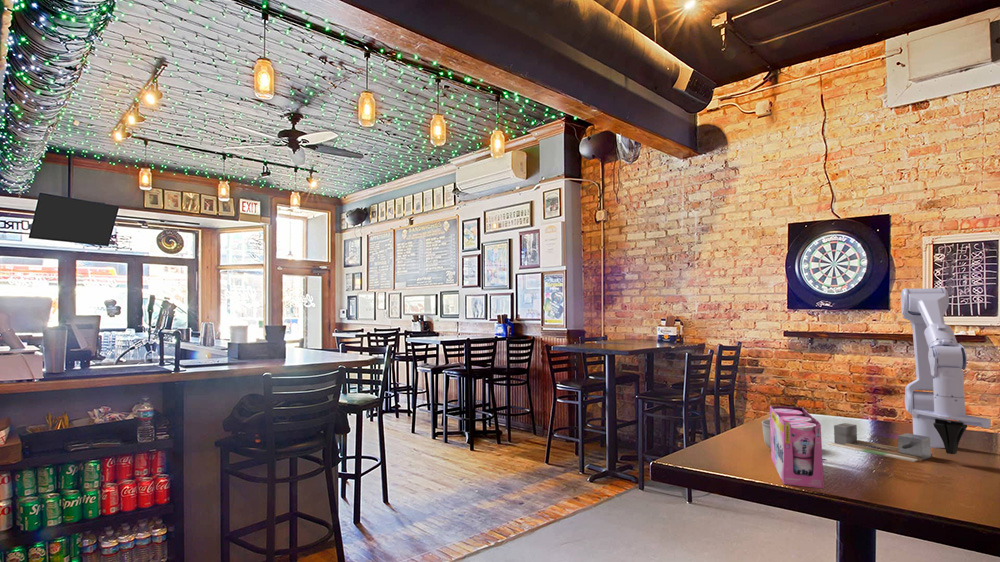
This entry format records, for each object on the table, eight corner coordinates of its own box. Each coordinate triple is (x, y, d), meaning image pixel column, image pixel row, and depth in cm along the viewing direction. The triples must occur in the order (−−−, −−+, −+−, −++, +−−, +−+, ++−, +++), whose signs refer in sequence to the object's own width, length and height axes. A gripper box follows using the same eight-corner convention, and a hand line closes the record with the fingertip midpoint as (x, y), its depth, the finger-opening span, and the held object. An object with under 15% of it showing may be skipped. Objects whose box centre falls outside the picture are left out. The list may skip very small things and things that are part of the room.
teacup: (814, 458, 138) (813, 426, 138) (768, 455, 140) (768, 424, 140) (795, 444, 151) (795, 416, 152) (754, 443, 153) (753, 414, 154)
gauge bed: (845, 442, 154) (844, 420, 154) (939, 461, 135) (938, 436, 135) (823, 448, 147) (822, 425, 147) (918, 468, 129) (917, 442, 129)
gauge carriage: (907, 452, 138) (906, 433, 138) (930, 457, 134) (930, 437, 134) (892, 457, 133) (891, 437, 134) (916, 462, 129) (915, 441, 129)
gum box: (826, 491, 112) (824, 425, 113) (784, 487, 115) (782, 423, 116) (805, 461, 135) (803, 406, 136) (770, 458, 138) (768, 405, 138)
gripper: (906, 393, 133) (908, 448, 132) (981, 401, 121) (984, 462, 120) (918, 391, 137) (920, 445, 136) (992, 398, 124) (995, 458, 124)
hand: (951, 453), depth 128 cm, fingers closed
